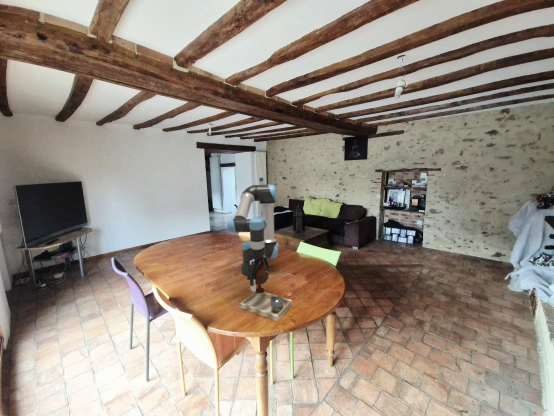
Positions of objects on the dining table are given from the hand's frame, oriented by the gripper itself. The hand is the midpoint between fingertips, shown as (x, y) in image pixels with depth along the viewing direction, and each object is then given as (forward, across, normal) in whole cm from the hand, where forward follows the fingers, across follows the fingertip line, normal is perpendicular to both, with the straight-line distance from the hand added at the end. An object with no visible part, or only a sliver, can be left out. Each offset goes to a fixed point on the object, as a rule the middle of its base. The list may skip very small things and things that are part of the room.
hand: (259, 285), depth 124 cm
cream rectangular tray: (+12, 0, -4) cm, 13 cm away
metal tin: (+11, 0, -11) cm, 16 cm away
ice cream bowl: (+3, 0, 0) cm, 3 cm away
